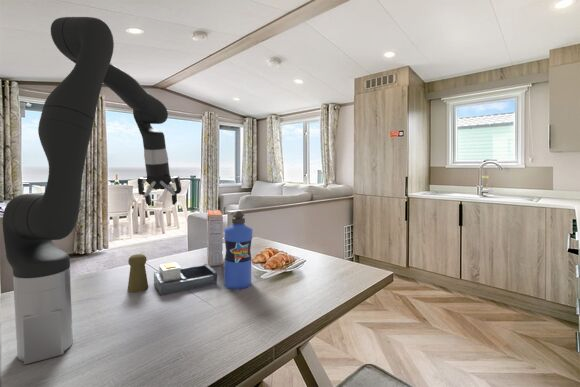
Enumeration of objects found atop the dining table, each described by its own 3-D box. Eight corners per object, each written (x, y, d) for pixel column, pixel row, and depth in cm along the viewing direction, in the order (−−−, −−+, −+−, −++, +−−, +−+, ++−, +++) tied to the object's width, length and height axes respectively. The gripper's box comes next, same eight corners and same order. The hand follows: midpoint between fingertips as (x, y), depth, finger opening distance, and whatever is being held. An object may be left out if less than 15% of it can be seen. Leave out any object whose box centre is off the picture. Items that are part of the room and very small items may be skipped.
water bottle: (254, 287, 100) (255, 213, 97) (226, 291, 96) (227, 214, 94) (247, 277, 108) (248, 209, 106) (221, 280, 105) (222, 210, 103)
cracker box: (206, 256, 132) (206, 209, 130) (220, 255, 134) (220, 209, 132) (207, 266, 119) (207, 214, 117) (222, 265, 120) (223, 214, 119)
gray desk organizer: (216, 283, 102) (217, 262, 101) (160, 295, 92) (160, 271, 91) (206, 274, 110) (206, 254, 110) (154, 284, 100) (153, 262, 100)
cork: (152, 285, 99) (151, 253, 98) (141, 292, 93) (140, 258, 92) (135, 284, 100) (134, 252, 99) (123, 291, 94) (122, 257, 93)
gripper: (131, 163, 101) (138, 209, 105) (175, 163, 103) (180, 207, 108) (138, 159, 108) (144, 202, 113) (179, 158, 110) (184, 200, 115)
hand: (162, 204), depth 110 cm, fingers open, 8 cm apart
